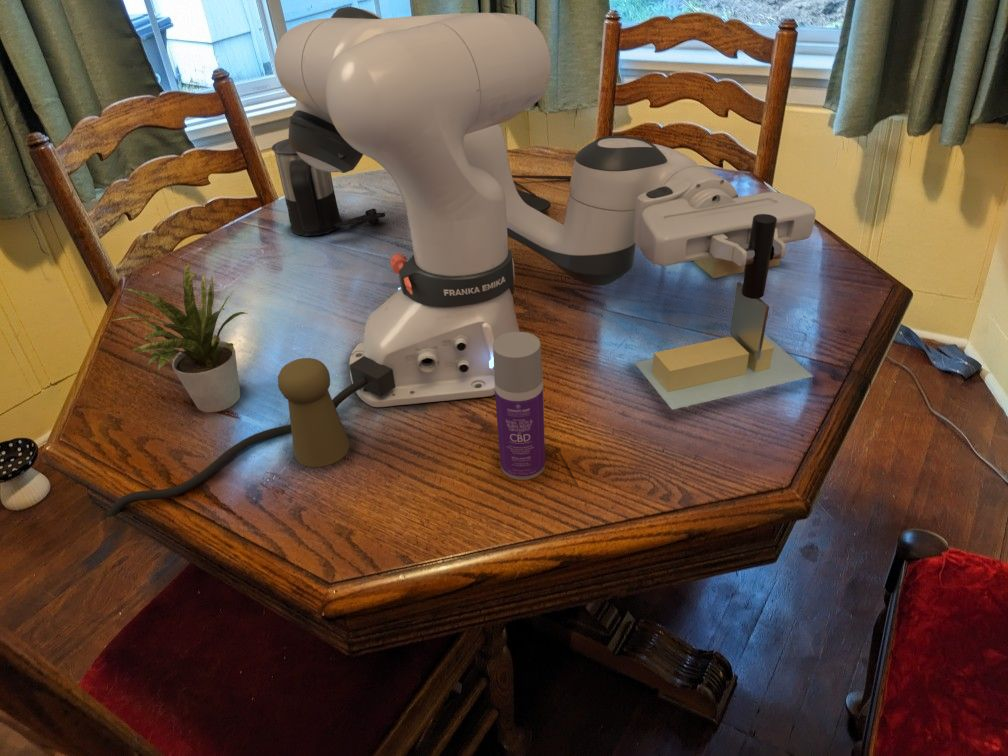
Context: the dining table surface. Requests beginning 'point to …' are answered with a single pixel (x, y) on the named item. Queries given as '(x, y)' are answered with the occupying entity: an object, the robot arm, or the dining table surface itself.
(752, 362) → the butter pat
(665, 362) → the butter stick
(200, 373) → the house plant
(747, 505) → the dining table surface
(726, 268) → the knife block
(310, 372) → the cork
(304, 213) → the milk frother
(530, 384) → the container
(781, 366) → the butter dish
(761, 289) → the knife
